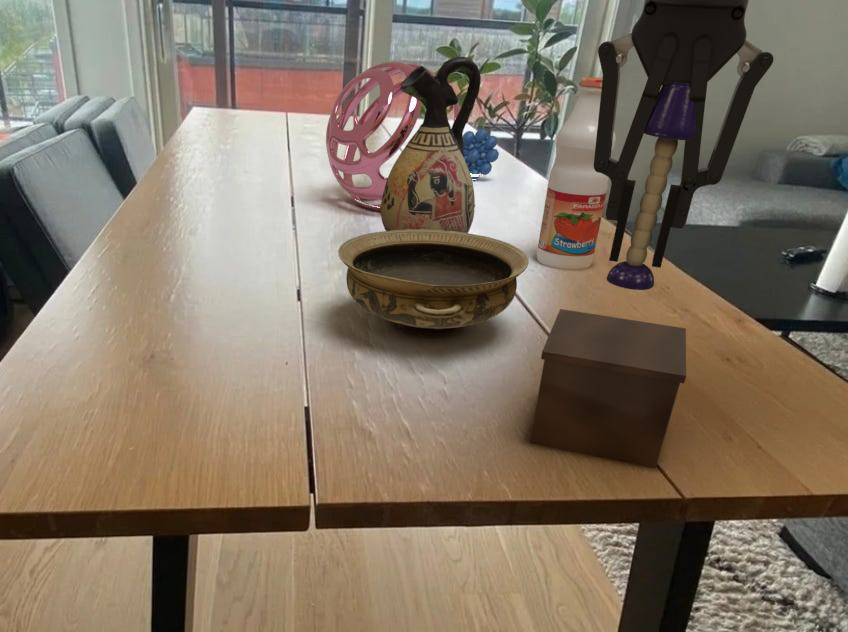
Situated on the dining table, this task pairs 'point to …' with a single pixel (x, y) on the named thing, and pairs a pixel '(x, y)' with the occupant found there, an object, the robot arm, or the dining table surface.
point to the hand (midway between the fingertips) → (635, 259)
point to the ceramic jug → (433, 158)
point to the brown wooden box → (608, 386)
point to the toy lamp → (656, 180)
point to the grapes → (479, 151)
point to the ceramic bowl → (432, 277)
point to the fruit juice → (575, 187)
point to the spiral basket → (370, 129)
